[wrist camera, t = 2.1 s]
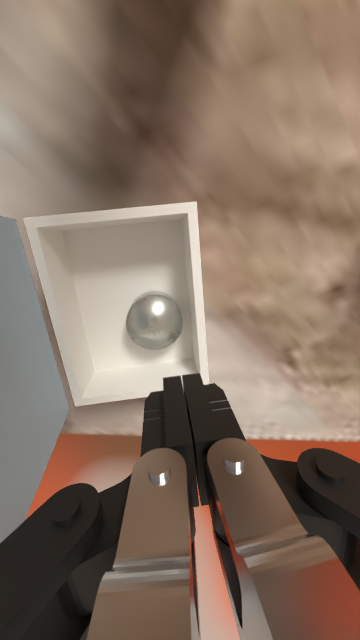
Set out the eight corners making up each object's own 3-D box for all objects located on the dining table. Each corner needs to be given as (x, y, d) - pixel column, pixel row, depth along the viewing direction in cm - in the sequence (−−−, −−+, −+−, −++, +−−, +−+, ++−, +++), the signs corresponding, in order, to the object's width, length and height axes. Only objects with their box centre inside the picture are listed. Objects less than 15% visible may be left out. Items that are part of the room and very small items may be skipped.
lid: (-214, 169, 6) (-237, 170, 6) (1, 578, 12) (-10, 581, 12) (15, 219, 19) (8, 220, 19) (69, 409, 24) (64, 410, 24)
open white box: (187, 210, 26) (196, 201, 20) (199, 362, 31) (209, 388, 26) (53, 223, 25) (23, 217, 19) (90, 376, 31) (74, 406, 25)
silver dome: (163, 280, 27) (163, 285, 24) (189, 323, 29) (192, 332, 26) (118, 308, 28) (114, 315, 25) (147, 348, 30) (146, 359, 27)
